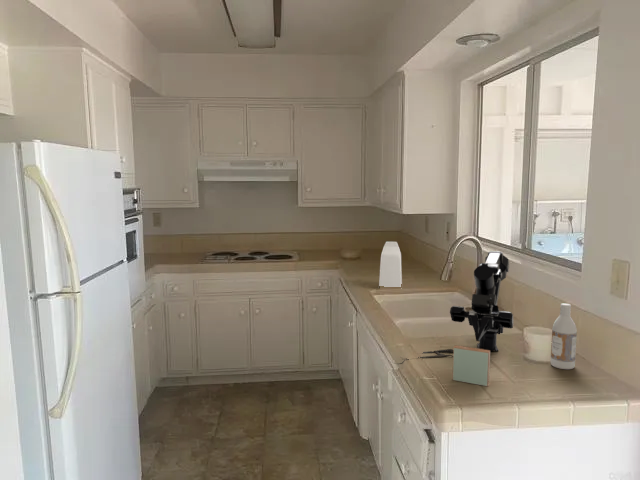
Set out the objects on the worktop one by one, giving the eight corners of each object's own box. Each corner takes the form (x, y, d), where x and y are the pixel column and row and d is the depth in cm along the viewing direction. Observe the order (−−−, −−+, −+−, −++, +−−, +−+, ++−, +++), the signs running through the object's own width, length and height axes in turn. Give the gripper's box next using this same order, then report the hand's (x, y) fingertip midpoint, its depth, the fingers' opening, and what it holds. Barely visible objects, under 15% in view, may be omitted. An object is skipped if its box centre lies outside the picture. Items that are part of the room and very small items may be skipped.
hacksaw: (453, 352, 170) (453, 348, 170) (465, 359, 160) (465, 355, 160) (385, 357, 167) (385, 353, 167) (393, 365, 157) (393, 360, 157)
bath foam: (545, 363, 157) (548, 302, 155) (560, 360, 160) (564, 300, 158) (563, 371, 151) (567, 307, 149) (579, 368, 154) (583, 305, 152)
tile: (453, 377, 146) (454, 345, 145) (488, 383, 141) (490, 350, 140) (452, 380, 144) (453, 347, 143) (487, 386, 139) (489, 352, 138)
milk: (378, 289, 271) (379, 242, 268) (380, 285, 282) (381, 240, 279) (400, 290, 269) (401, 243, 266) (402, 286, 280) (402, 240, 277)
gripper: (452, 281, 157) (442, 323, 149) (514, 286, 149) (508, 331, 140) (456, 300, 165) (448, 340, 157) (515, 306, 157) (510, 349, 148)
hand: (477, 340), depth 150 cm, fingers closed
